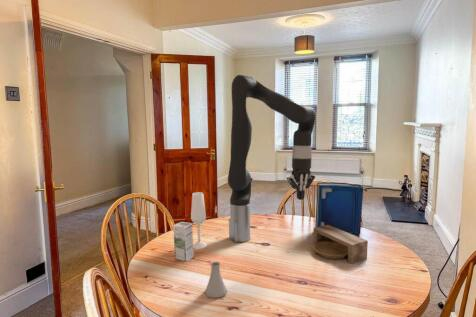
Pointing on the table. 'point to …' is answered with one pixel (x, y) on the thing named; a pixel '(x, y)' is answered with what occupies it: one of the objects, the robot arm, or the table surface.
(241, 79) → the robot arm
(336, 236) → the walnut shelf
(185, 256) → the syrup box
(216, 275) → the flask
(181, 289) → the table surface
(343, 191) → the book
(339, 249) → the plant saucer
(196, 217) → the champagne flute
